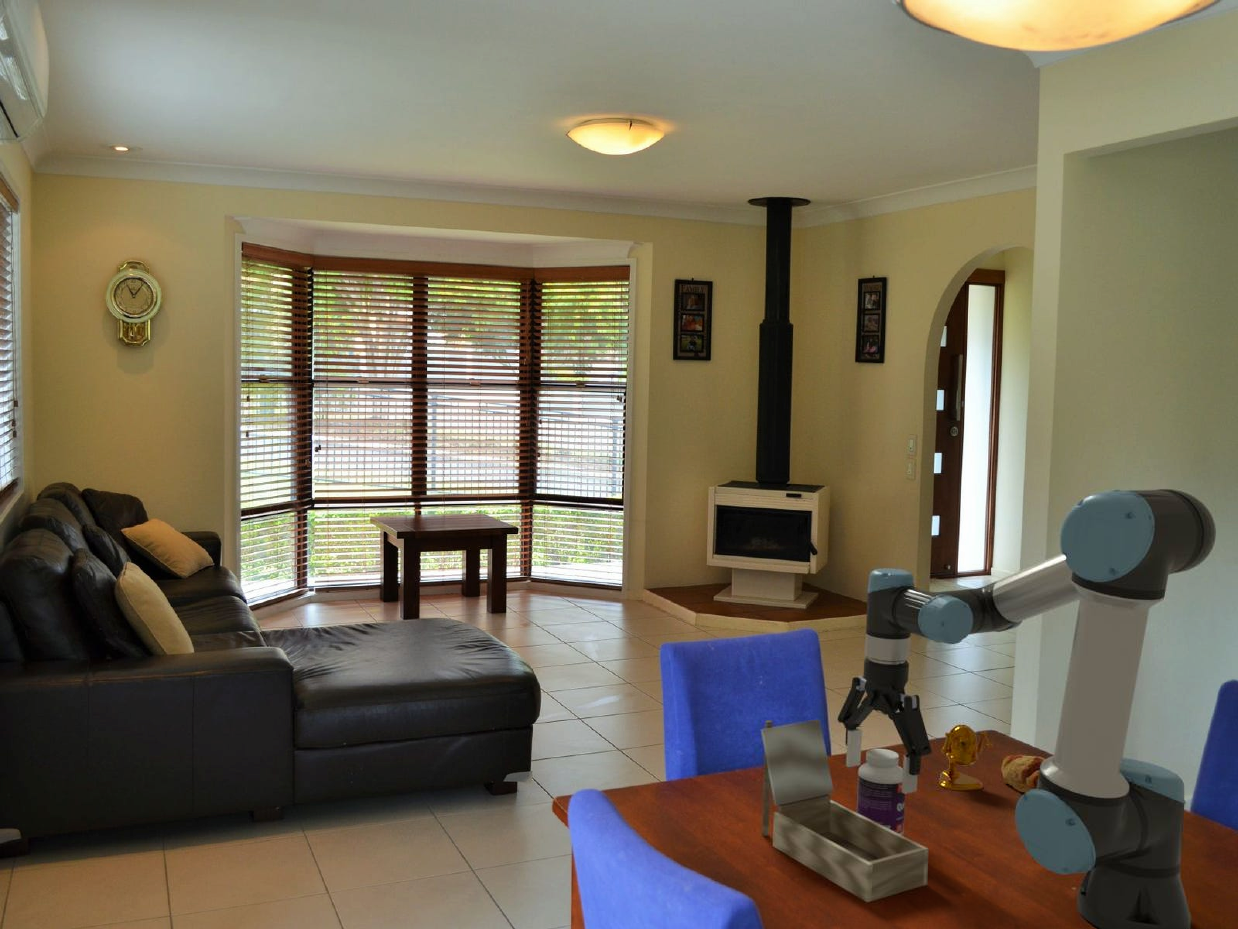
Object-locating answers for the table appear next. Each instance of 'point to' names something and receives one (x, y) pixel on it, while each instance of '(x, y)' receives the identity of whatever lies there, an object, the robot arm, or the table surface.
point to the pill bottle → (882, 789)
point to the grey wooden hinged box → (830, 820)
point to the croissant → (1021, 771)
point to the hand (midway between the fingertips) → (880, 778)
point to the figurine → (961, 758)
